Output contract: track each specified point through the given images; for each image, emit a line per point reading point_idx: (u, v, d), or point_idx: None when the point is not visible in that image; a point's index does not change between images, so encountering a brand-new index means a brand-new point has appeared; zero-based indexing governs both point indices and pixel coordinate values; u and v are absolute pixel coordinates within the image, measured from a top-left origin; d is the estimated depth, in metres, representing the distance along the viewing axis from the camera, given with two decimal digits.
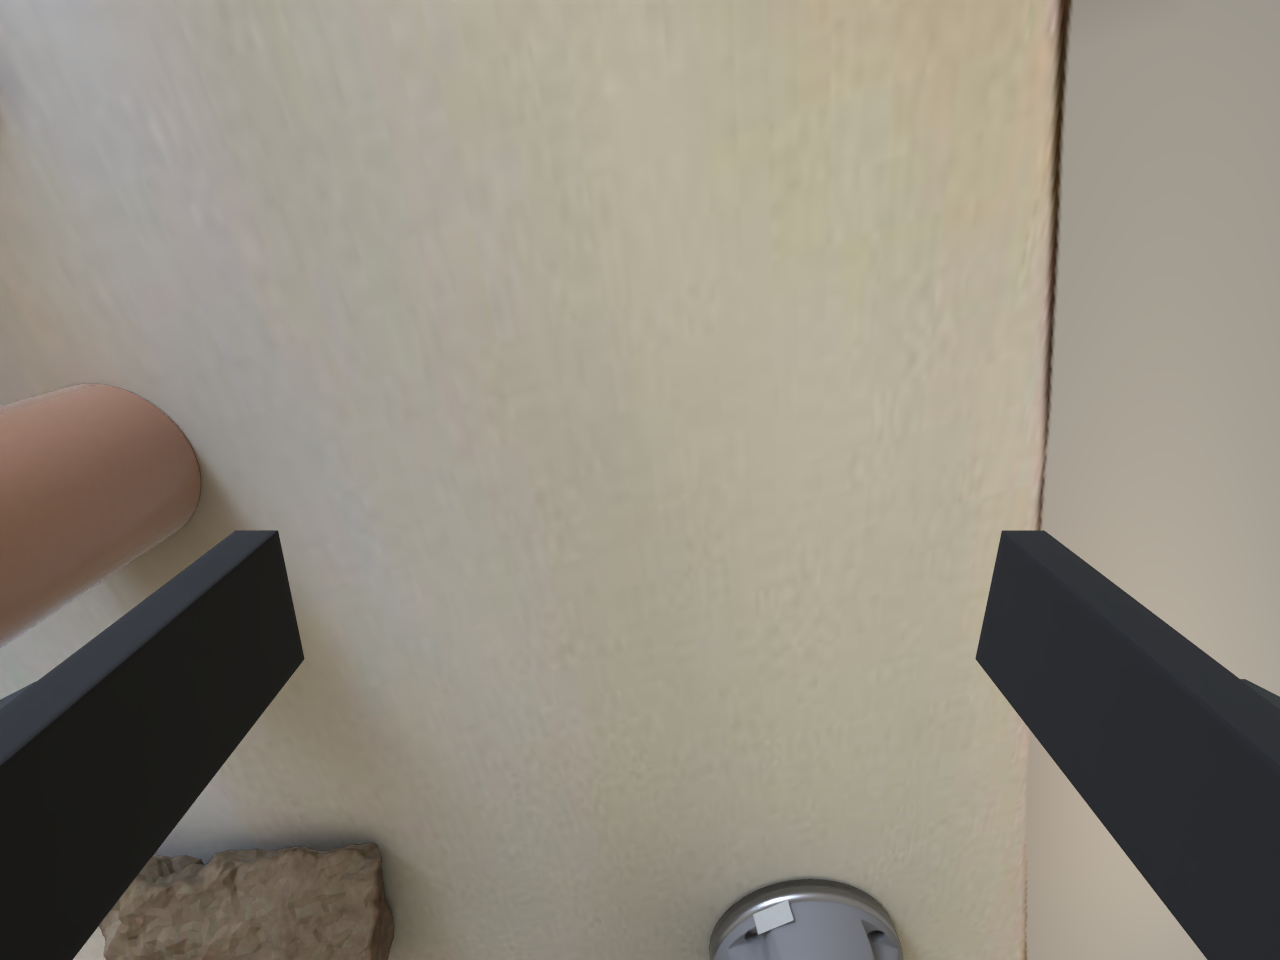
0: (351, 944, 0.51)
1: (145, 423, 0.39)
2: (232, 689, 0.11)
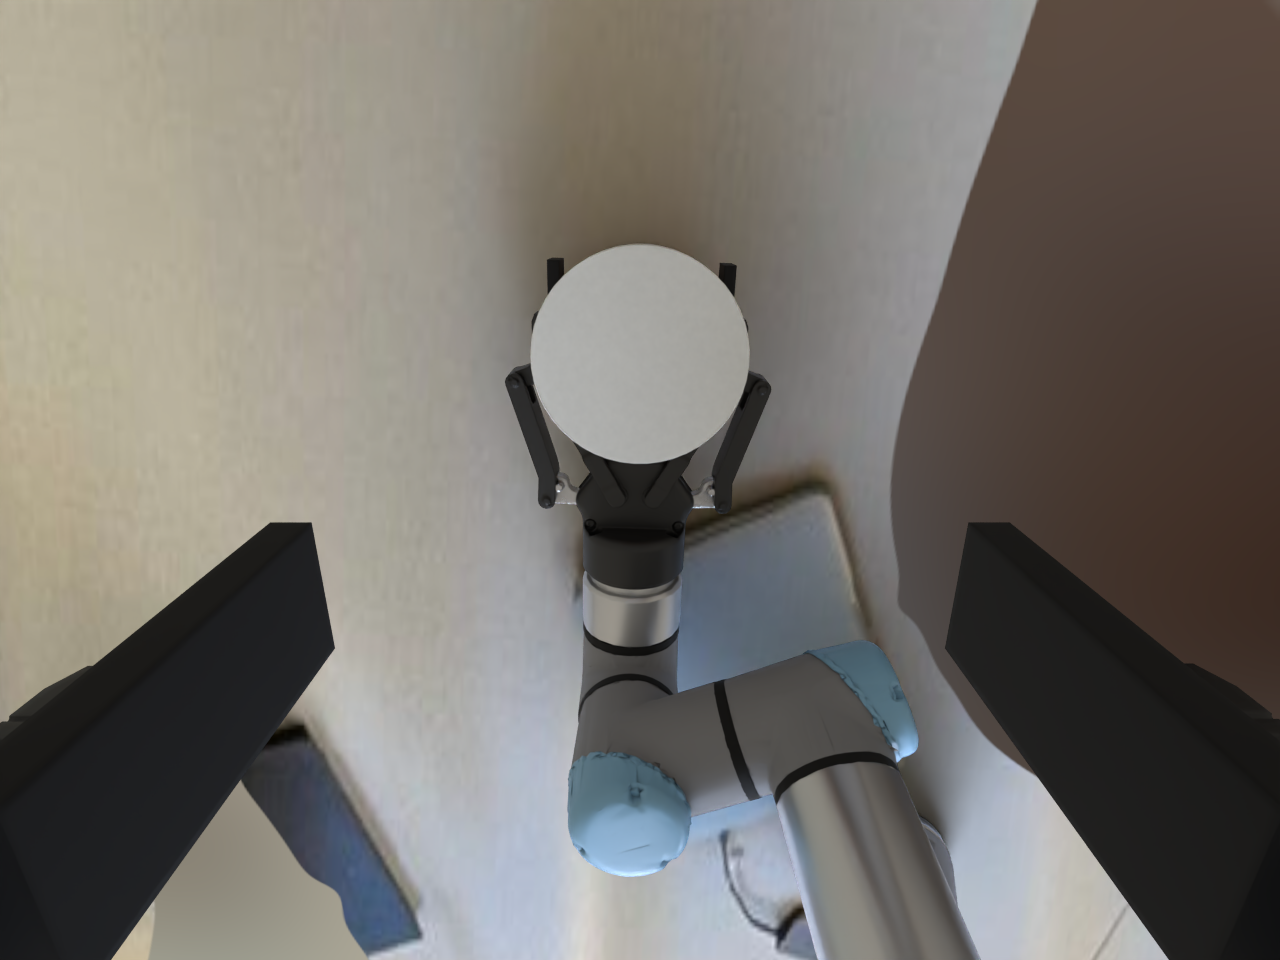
0: None
1: None
2: (271, 675, 0.11)
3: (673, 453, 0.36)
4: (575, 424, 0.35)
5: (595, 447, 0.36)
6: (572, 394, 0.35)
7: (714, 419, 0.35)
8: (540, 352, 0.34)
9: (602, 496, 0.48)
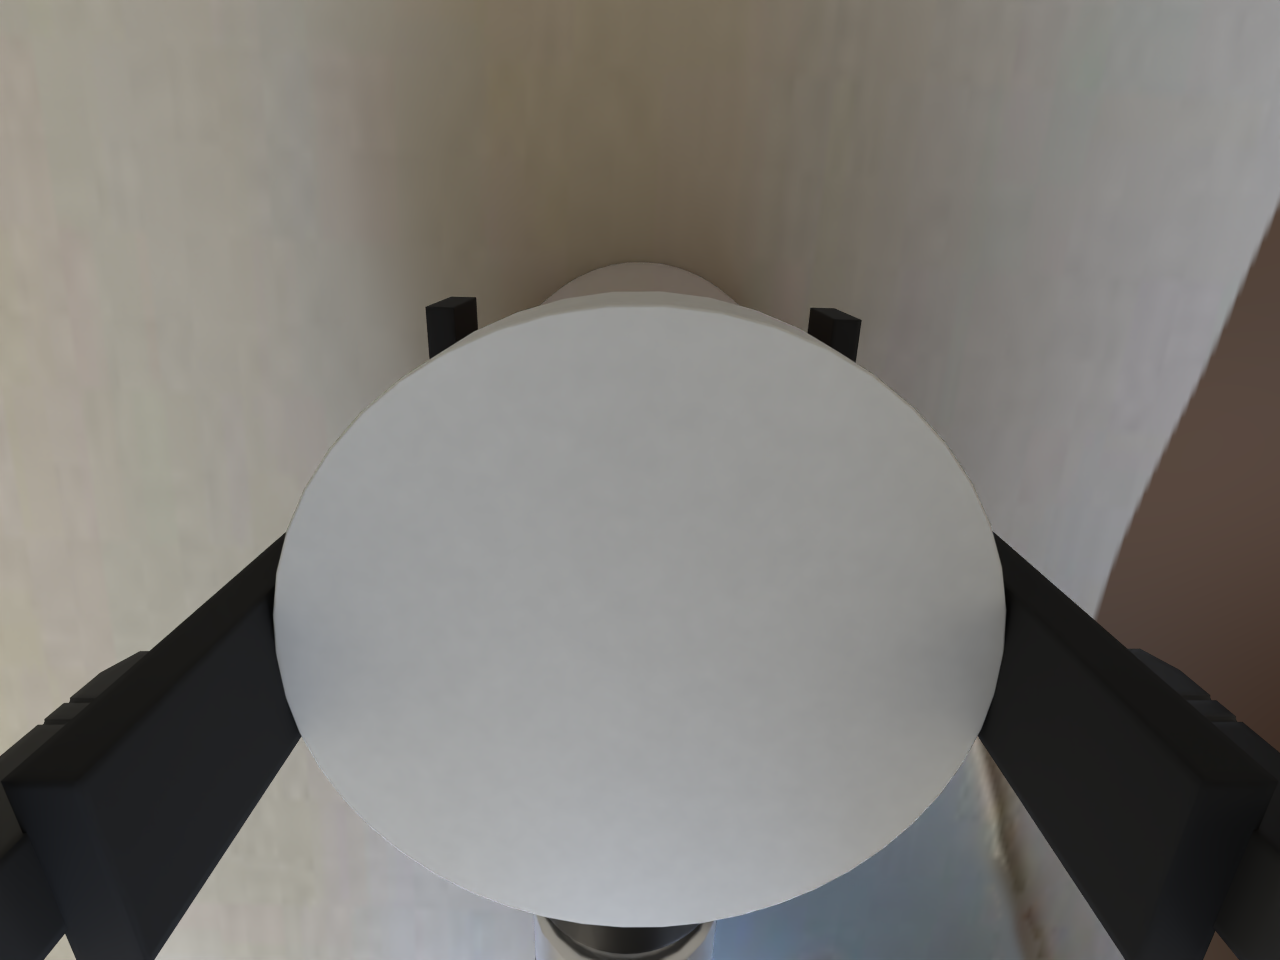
0: None
1: None
2: None
3: (739, 905, 0.12)
4: (442, 838, 0.12)
5: (507, 891, 0.12)
6: (426, 765, 0.11)
7: (868, 826, 0.12)
8: (308, 652, 0.10)
9: None
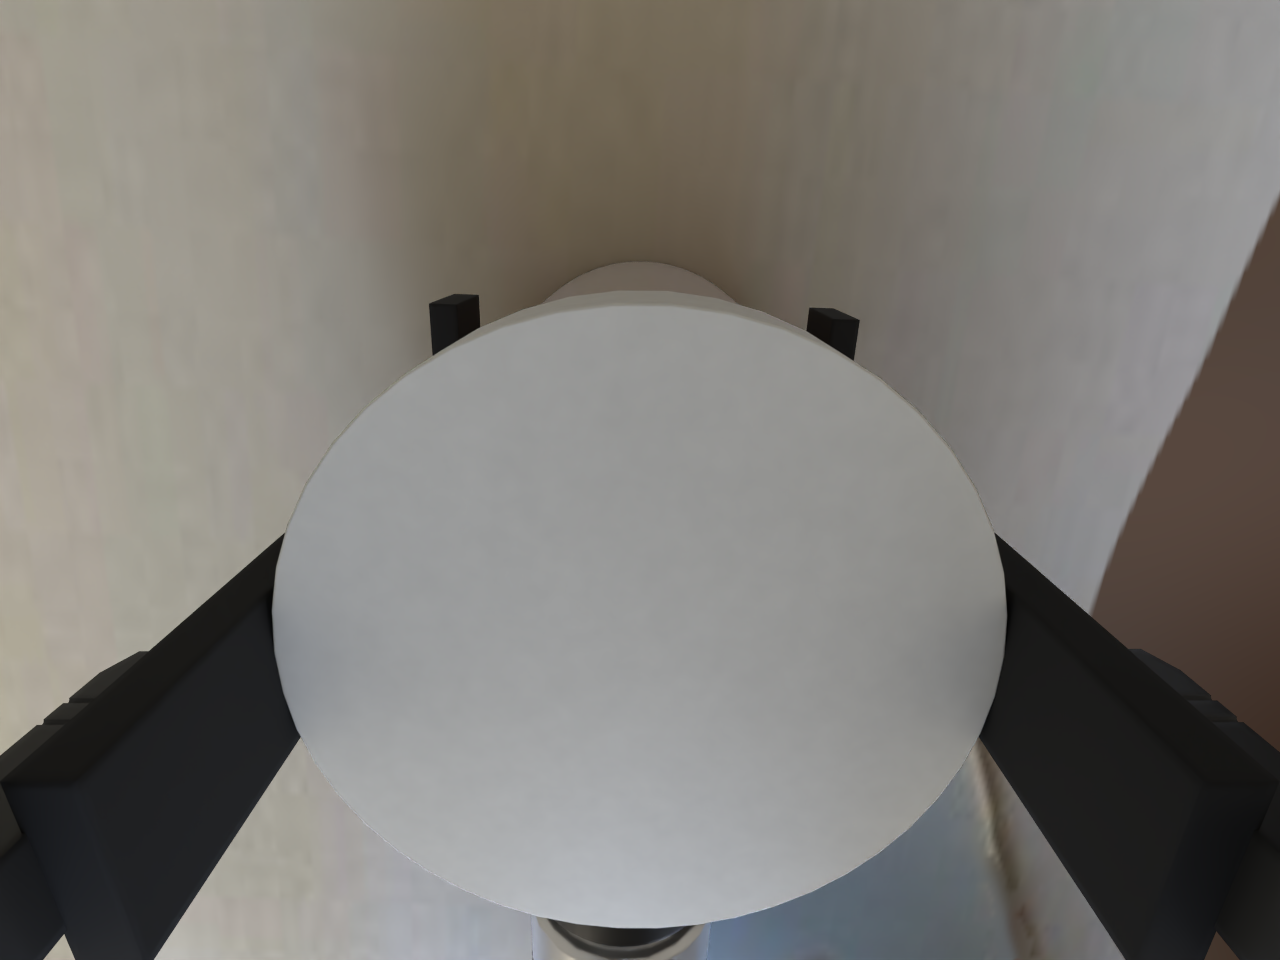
0: None
1: None
2: None
3: (984, 576, 0.10)
4: (832, 842, 0.12)
5: (915, 796, 0.11)
6: (738, 845, 0.12)
7: (875, 434, 0.09)
8: (612, 907, 0.12)
9: None
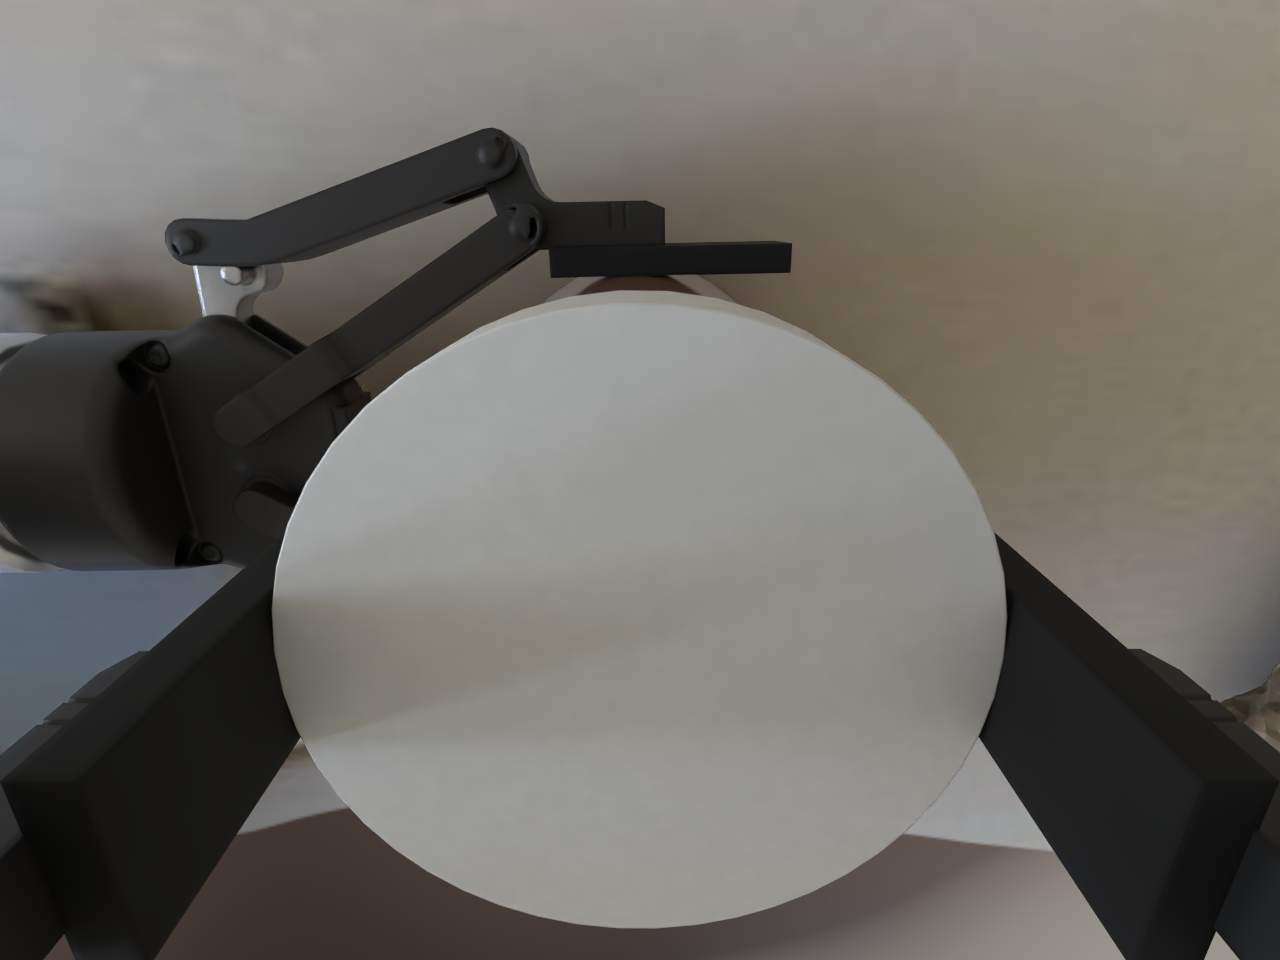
0: None
1: (580, 277, 0.24)
2: None
3: (984, 577, 0.10)
4: (832, 842, 0.12)
5: (915, 797, 0.11)
6: (738, 845, 0.12)
7: (876, 435, 0.09)
8: (611, 907, 0.12)
9: (237, 385, 0.20)
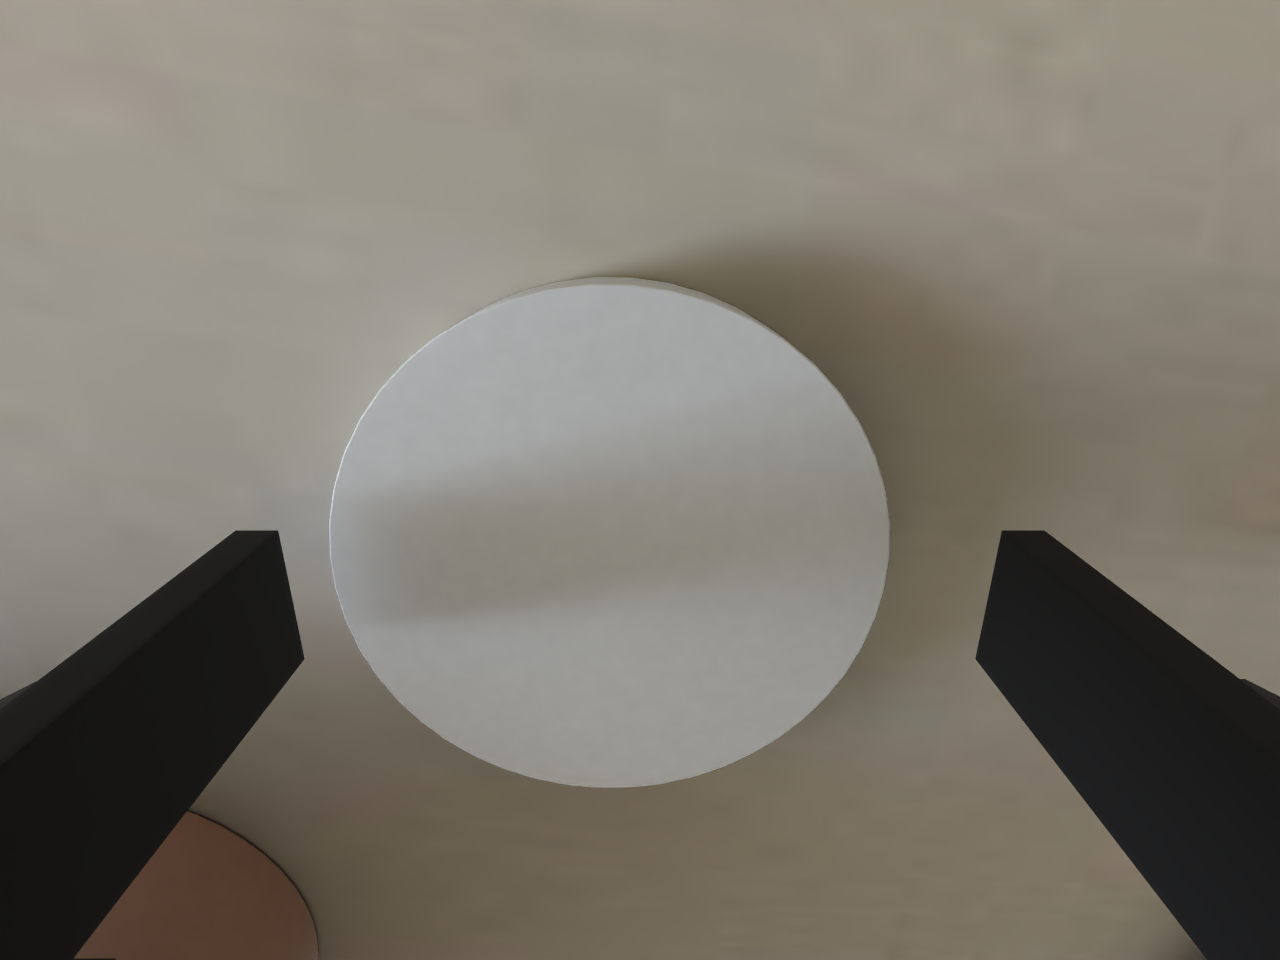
0: None
1: None
2: (232, 689, 0.11)
3: (870, 491, 0.13)
4: (766, 710, 0.15)
5: (828, 671, 0.14)
6: (693, 714, 0.15)
7: (784, 382, 0.12)
8: (593, 770, 0.15)
9: None
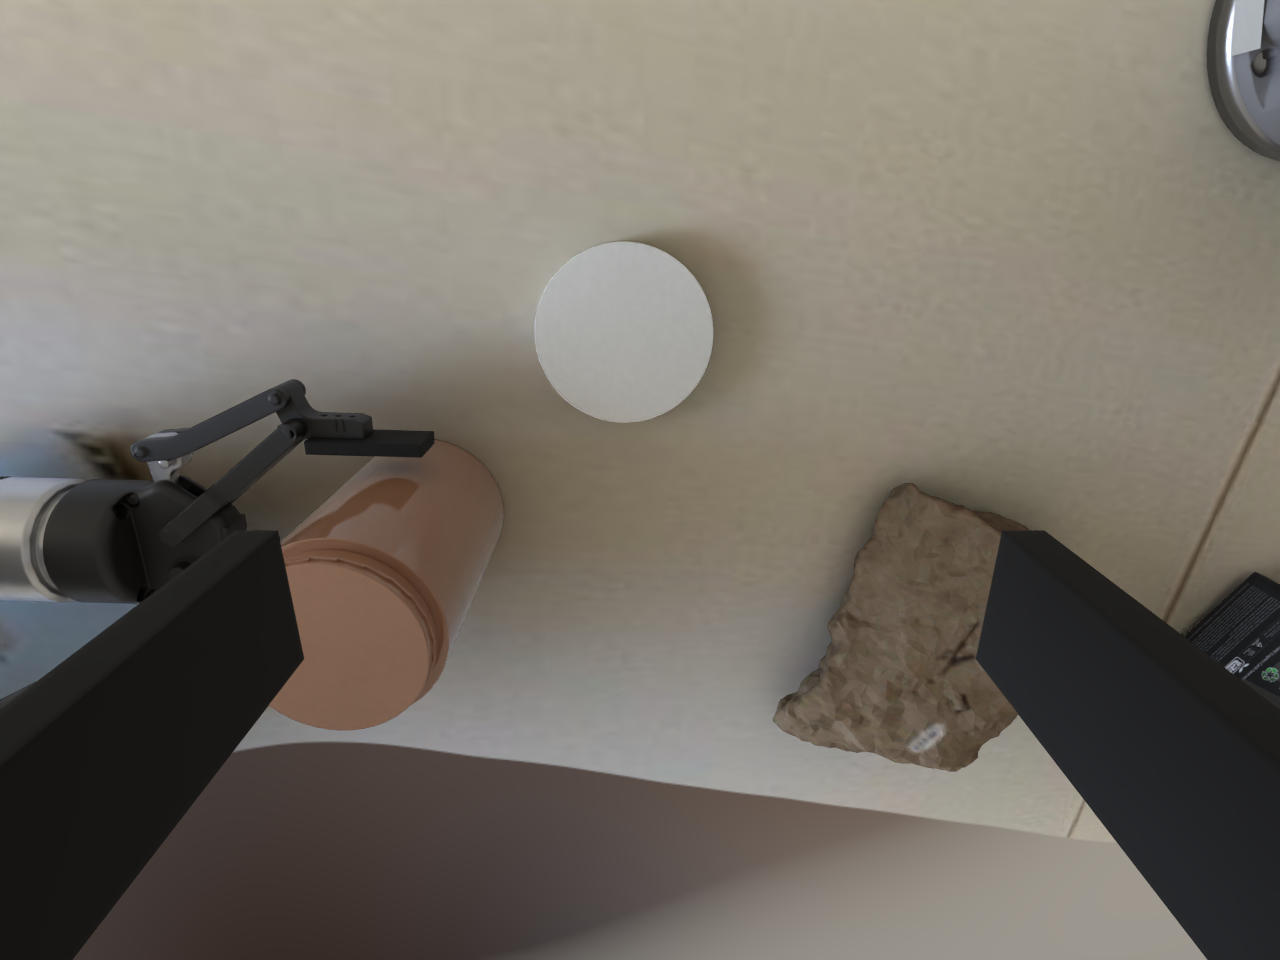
0: (989, 550, 0.45)
1: None
2: (232, 689, 0.11)
3: (705, 308, 0.41)
4: (676, 390, 0.43)
5: (696, 375, 0.43)
6: (651, 391, 0.43)
7: (676, 271, 0.41)
8: (617, 414, 0.44)
9: (174, 513, 0.40)
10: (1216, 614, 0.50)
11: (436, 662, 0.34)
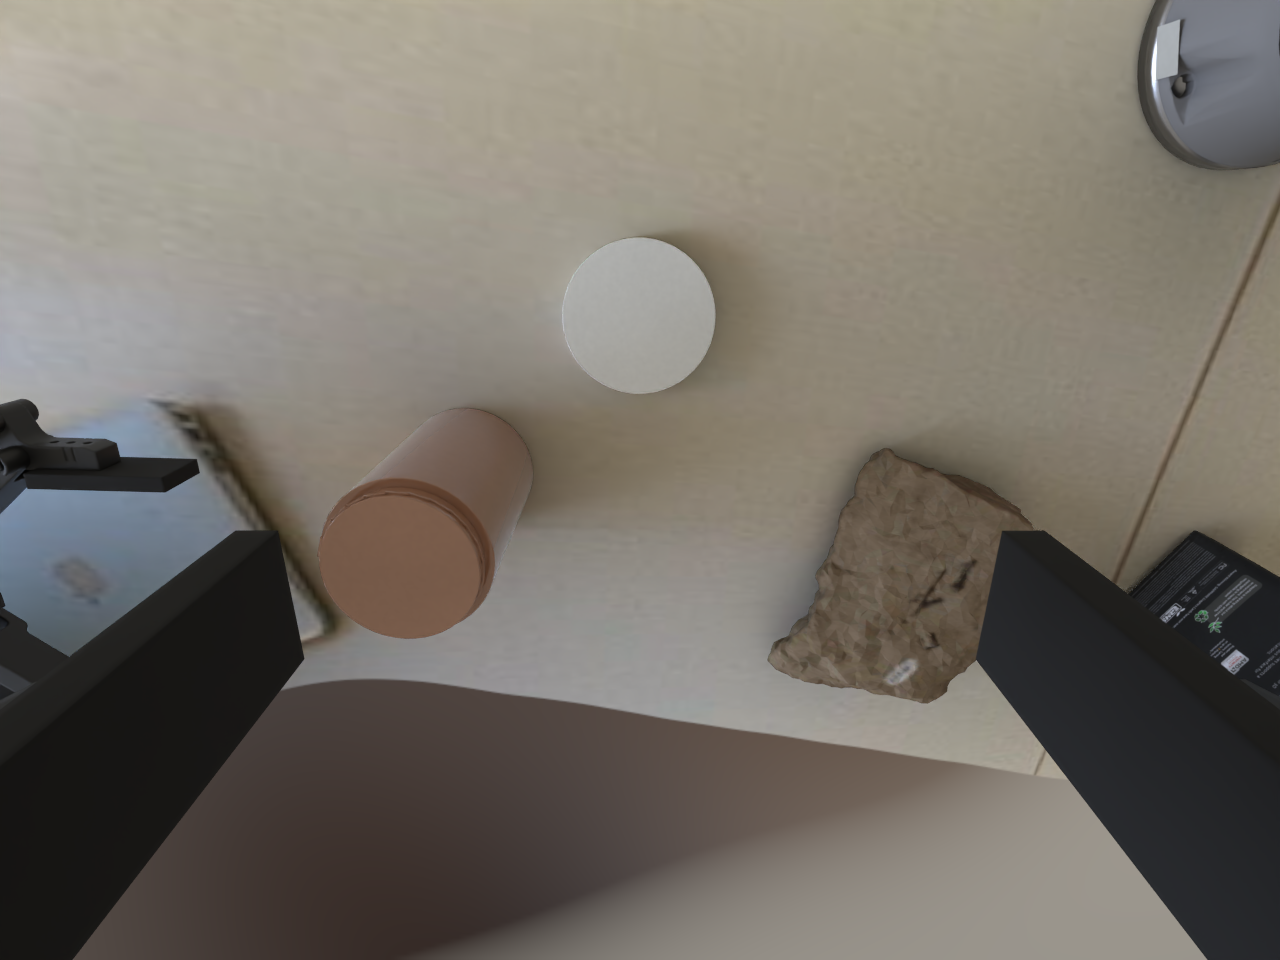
0: (955, 506, 0.52)
1: (434, 418, 0.52)
2: (232, 689, 0.11)
3: (708, 294, 0.48)
4: (683, 366, 0.50)
5: (701, 352, 0.50)
6: (662, 367, 0.50)
7: (683, 263, 0.48)
8: (632, 387, 0.51)
9: None
10: (1161, 568, 0.57)
11: (483, 584, 0.41)
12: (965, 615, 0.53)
